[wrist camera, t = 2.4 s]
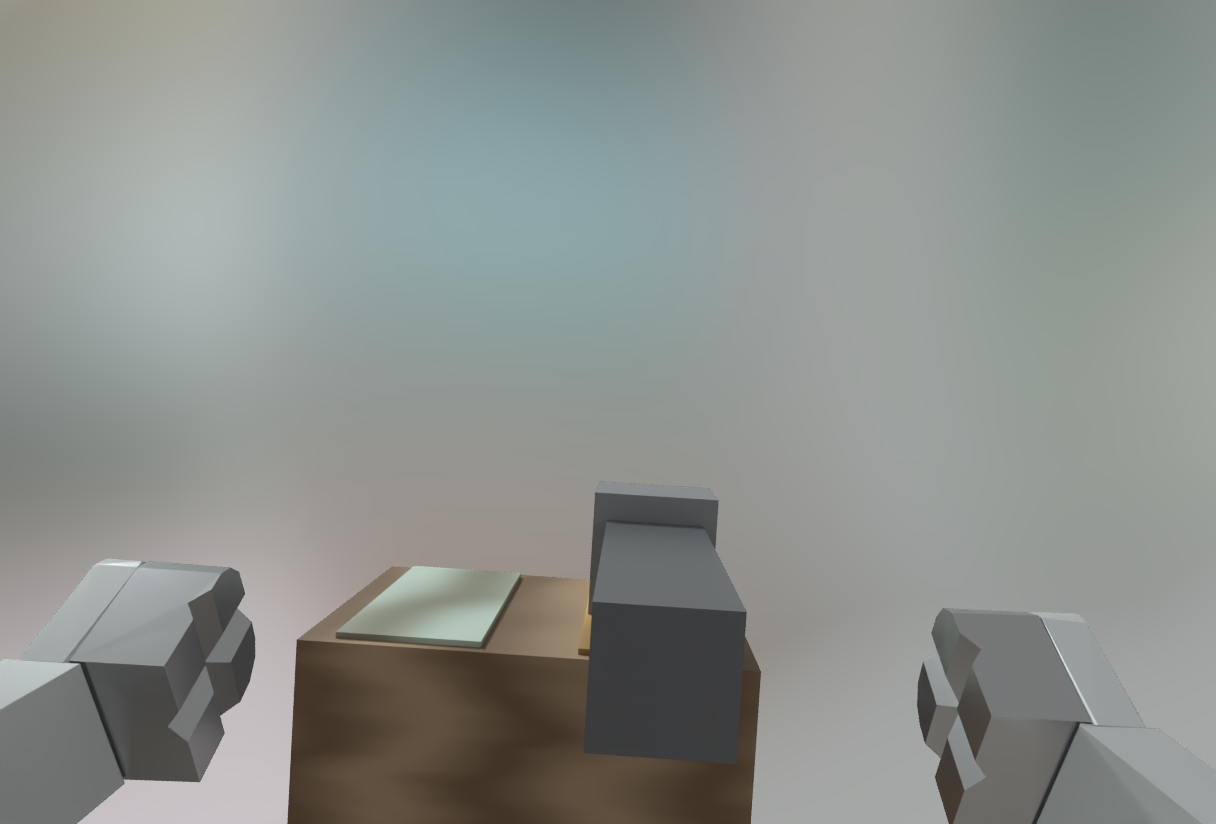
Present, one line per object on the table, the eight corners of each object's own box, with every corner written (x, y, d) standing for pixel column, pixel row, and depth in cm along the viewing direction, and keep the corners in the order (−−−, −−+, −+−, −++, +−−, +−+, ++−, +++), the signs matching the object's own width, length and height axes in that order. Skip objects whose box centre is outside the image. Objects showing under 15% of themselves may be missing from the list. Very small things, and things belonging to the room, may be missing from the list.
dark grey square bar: (562, 751, 22) (573, 557, 22) (593, 585, 40) (599, 478, 40) (757, 765, 22) (770, 570, 22) (700, 592, 40) (707, 485, 40)
